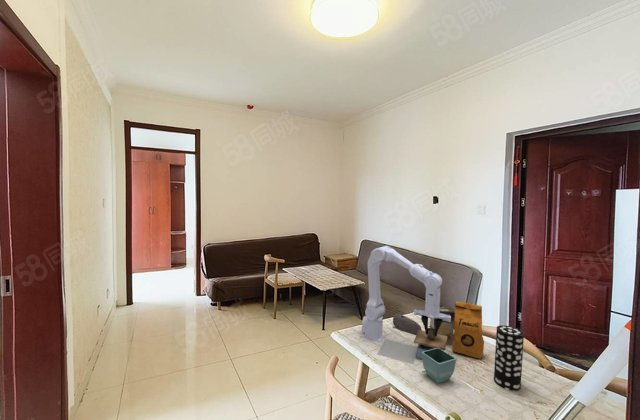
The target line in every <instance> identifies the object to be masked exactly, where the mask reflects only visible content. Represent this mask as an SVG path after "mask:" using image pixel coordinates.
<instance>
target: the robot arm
mask: <svg viewBox="0 0 640 420" xmlns="http://www.w3.org/2000/svg"><path fill="white" fill-rule="evenodd" d="M384 262H394V263H395V264H398V265H399V266H401V267H403V268H405V269H406V270H408V271H409V274H410V275H411V277H413V278H415V279H416V280H418V281H419V282H421V283H422V284H424V287H425V301H424V302H425V306H424V309H416V308H415V309H414V310H413V315H414V316H421V318H420V319H421V322H422V324H423V328H424V331H425V333H426V334H427V333H428V328H429V319H430V318H435V319H436V322H435V336H436V337H437V332H438V329H439V327H440V325H441V324H442V320H445V321H448V322H451V316H449V315H445V314H442V313H439V311H440V307H441V285H442V284H443V279H442V276H441V275H439V274H438V273H437V272H436V273H435V272H433V271H430V270H428V269H427V268H425V267H424V264H419V263H415V264H414V263H412V261H410V260H408V259H407V258H405V256H403V255H401V254H400V253H399V252H398V251H396V250H395V249H394V248H392V247H391V246H389V245H384V246H381V247H376V248H374V249H373V250H372V251H371V252H370V255H369V258H368V260H367V277H368V278H367V279H368V280H367V281H368V301H367V303H366V309H365V312H364V313H365V315H364V316H363V318H362V320H361V321H362V322H361V335H360V336H361V338H364V339H369V340H372V341H377V342H381V341H382V340H383V338H384V337H385V333H383V325H384V324H383V322H384V318H383V316H384V315H385V313H386V307H385V305H384V300H383V299H382V298H381V295H382V294H381V279H380V277H381V276H380V265H381V264H382V263H384Z"/></svg>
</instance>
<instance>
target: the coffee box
mask: <svg viewBox="0 0 640 420" xmlns="http://www.w3.org/2000/svg"><path fill="white" fill-rule="evenodd" d="M439 313H442V314H445V315H449V316H451V322H448V321H445V320H442V324H441V325H440V327H439V329H438V332H437V334H440V335H444V336H447V343H446V346H451V347H452V341H453V335H454V321H455V310H454V309H452V308H451V307H448V306H440V311H439ZM429 319H430V320H429V328H433V329H435V322H436V319H435V318H429Z"/></svg>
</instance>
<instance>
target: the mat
mask: <svg viewBox="0 0 640 420" xmlns="http://www.w3.org/2000/svg"><path fill="white" fill-rule="evenodd" d="M417 347H418V346H415V345H412V344H407V343H403V342H399V341H396V340H395V341H394V340H390V339H386V338H385V339H384V341H383V343H382V344H381V347H380V348H379V349H378V351H377V353H376V355H378V356H382V357H386V358H390V359H393V360H397V361H401V362H404V363H408V364H411V365H413V364H415V360H416V358H417Z"/></svg>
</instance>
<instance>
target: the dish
mask: <svg viewBox="0 0 640 420" xmlns="http://www.w3.org/2000/svg"><path fill="white" fill-rule="evenodd" d="M416 347H417V354H416V358H417V359H419V360H423V359H422V352H423V351H427V350H431V349H434V348H433V347H429V346H425V345H421V344H417V346H416ZM443 351H445V350H443Z"/></svg>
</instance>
